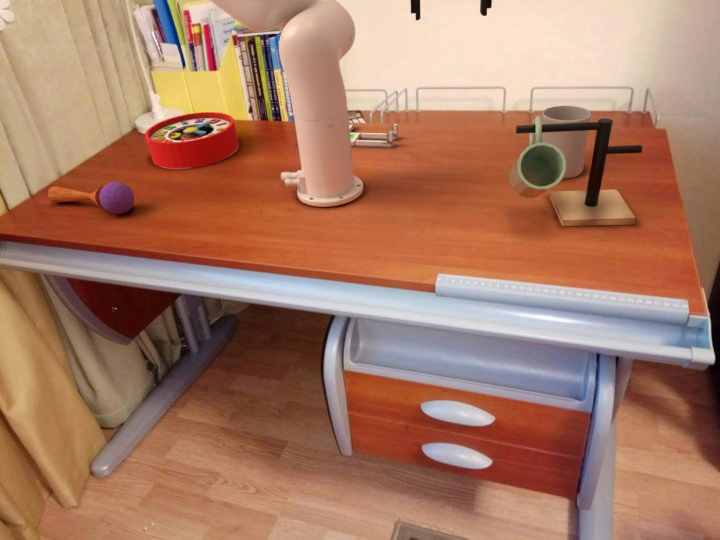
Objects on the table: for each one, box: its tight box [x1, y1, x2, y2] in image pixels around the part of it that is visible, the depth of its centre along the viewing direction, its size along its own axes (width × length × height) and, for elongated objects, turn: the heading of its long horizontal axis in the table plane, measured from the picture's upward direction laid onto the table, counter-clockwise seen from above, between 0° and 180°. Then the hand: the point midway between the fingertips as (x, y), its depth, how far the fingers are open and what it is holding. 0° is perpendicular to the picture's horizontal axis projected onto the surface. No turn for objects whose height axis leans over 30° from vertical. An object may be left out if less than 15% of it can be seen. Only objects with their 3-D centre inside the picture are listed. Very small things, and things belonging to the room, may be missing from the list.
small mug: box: [508, 115, 566, 199], centre depth 85 cm, size 11×7×9 cm
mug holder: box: [515, 117, 643, 227], centre depth 87 cm, size 19×10×15 cm, turn 85°
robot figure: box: [349, 123, 399, 149], centre depth 124 cm, size 16×3×22 cm
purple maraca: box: [47, 181, 135, 215], centre depth 106 cm, size 6×6×20 cm
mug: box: [540, 105, 592, 180], centre depth 103 cm, size 12×8×11 cm
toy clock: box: [144, 111, 240, 170], centre depth 127 cm, size 20×6×20 cm
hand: (450, 16), depth 82 cm, fingers open, 9 cm apart
